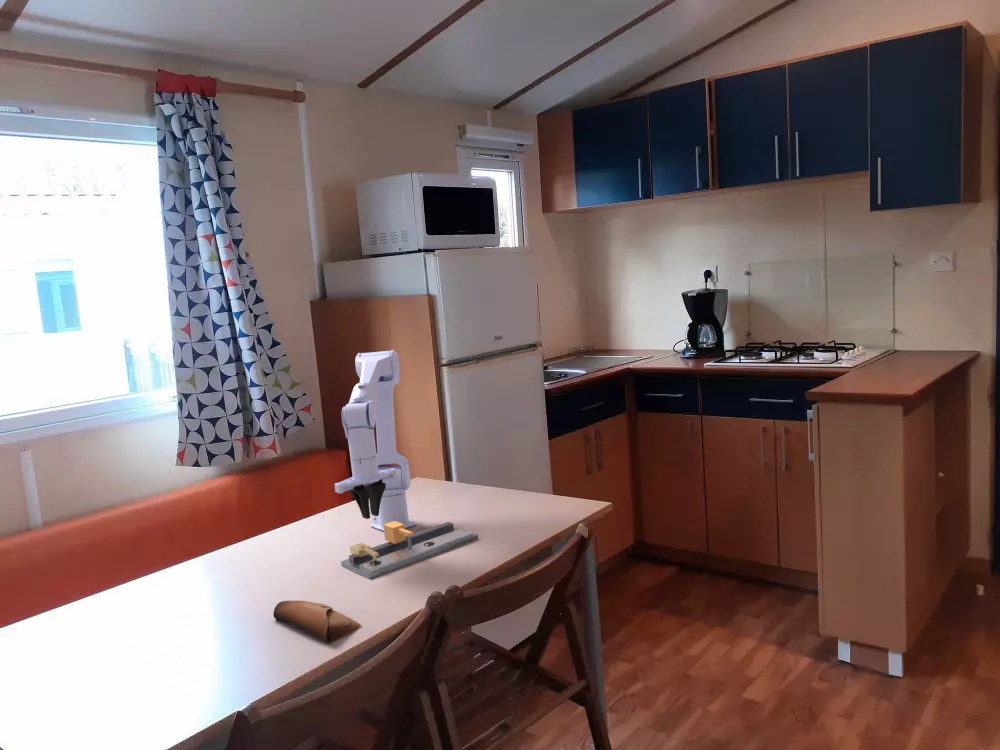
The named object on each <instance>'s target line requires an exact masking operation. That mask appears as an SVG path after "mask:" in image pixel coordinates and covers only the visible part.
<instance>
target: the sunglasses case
mask: <svg viewBox="0 0 1000 750" xmlns="http://www.w3.org/2000/svg"><path fill="white" fill-rule="evenodd" d="M273 609H274V610H273V615H272V616H273V618H274V619H275V620H277V621H278V622H279V621H280V622H283V623H286V624H288V625H292V626H294V627H295V628H298V629H300V630H302V631H305V632H307V633H309V634H310V635H313V636H315V637H317V638H319V639H320V640H321V639H322V640H323V641H326V642H328V643H329V644H332V643H334V642H337V640H340V639H342V638H344V637H346V636H348V635H350V634H352V633H354V632H356V631H357V630H359V629H361V628H363V626H362V625H361V624H360V623H359V622H357V621H356V620H355V619H352V618H351V617H349V616H347V615H345V614H343V613H341V612H339V611H336V610H334V609H333V607H331V606H329V605H326V604H323V603H319V602H313V601H308V600H307V601H306V600H283V601H279V602H278V603H277V604H276V605H275V607H274V608H273Z"/></svg>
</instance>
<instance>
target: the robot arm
mask: <svg viewBox="0 0 1000 750" xmlns="http://www.w3.org/2000/svg"><path fill="white" fill-rule="evenodd" d="M354 361H355V363H354V364H355V371H356V374H357V377H359V382H358V383H356V384H355V385H354V387H353V389H352V391H351V395H350V398H349V400H348V403H347V404H345V406H343V407H342V409H341V422H342V423H341V424H342V427H343V429H344V434H345V438H346V439H347V441H348V442H347V444H348V449H349V458H350V466H351V473H352V476H351V477H349V478H347V479H344V480H342V481H339V482H336V483H334V491H335V492H334V493H337V494H339V495H340V494H343V493H345V492H347V491H349V493H350V494H351V496H352V497H353V499H354V500H355V502H356V504H357V506H358V508H359V511H360V513H361V516H362V518H363V519H366V520H369V519H371V515H372V523H371V524H370V527H372V528H374V529H377V530H380V531H382V532H384V524H387V523H390V522H393V521H396V522H399V523H402V524H404V528H405V529H407V528H410V527H413V526H416V525H417V522H415V521H412V520H410V519H409V510H408V503H407V502H408V501H407V494H406V493H407V492H406V490H409V488H410V487H411V469H410V465H409V461H408V458H406V457H405V456H403V455H402V454H400V453H399V452H398V451H397V441H396V440H397V439H396V437H397V436H396V423H395V408H394V390H395V389H394V387H395V386H396V385H398V384H400V382H401V381H400V380H401V372H400V371H401V368H400V360H399V355H398V352H397V351H395V349H390V350H385V351H375V352H374V351H373V352H358V353H357V355H356V356H355V360H354ZM374 428H375V429H376V431H375V430H374ZM375 432H376V436H375ZM375 437H376V439H375ZM376 446H377V448H376ZM395 464H397V465H395ZM381 465H386V466H381Z"/></svg>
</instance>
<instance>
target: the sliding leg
mask: <svg viewBox="0 0 1000 750" xmlns="http://www.w3.org/2000/svg"><path fill="white" fill-rule="evenodd" d="M383 532H384V539H385V541H386V542H391V543H394V544H396V543H399V542H401V541H404V540H406V537H405V536H407V538H408V547H409V549H412V545H411V536H413V534H414V532H413V531H411V530H408V529H406V528H404V524H402V523H399V522H396V521H393V522H390V523H387V524H384V531H383Z"/></svg>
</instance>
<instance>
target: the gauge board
mask: <svg viewBox="0 0 1000 750" xmlns="http://www.w3.org/2000/svg"><path fill="white" fill-rule="evenodd" d="M405 537H406V540H404V541H401V542H399V543H396V544H394V543H391V542H389V541H386V542H384V543H382V544H379V545H376V546H373V547H371V546H370V545H368V544H365V543H363V542H360V543H357V544H354V545H351V546H349V552H350V555H349V554H348V559H344V560H341V561H340V562H341V563H340V565H341V567H343V568H346V569H348V570H349V571H352V572H354V573H355V574H358V575H360V576H362V577H364V578H365V579H368V580H371V579H372V578H376V577H378V576H381V575H384V574H386V573H387V574H388V573H389V572H392V571H395V570H397V569H400V567H401V568H403V567H406V566H408V565H411V564H414V563H417V562H420V561H423V560H425V559H427V558H431V557H434V556H436V555H438V554H441V553H444V552H447V551H449V550H453V549H455V548H457V547H460V546H461V547H462V546H463V545H465V544H468V543H471V542H474V541H476V540H478V539H479V535H478V534H476V533H473V532H470V531H468V530H467V531H466V530H464V529H461V528H458V527H455V526H454V523H453V522H451V521H446V522H443V523H441V524H437V525H434V526H432V527H429V528H426V529H423V530H421V531H420V530H419V531H417V532H413V536H411V545H412V549H409V547H408V538H407V536H406V535H405Z"/></svg>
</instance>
